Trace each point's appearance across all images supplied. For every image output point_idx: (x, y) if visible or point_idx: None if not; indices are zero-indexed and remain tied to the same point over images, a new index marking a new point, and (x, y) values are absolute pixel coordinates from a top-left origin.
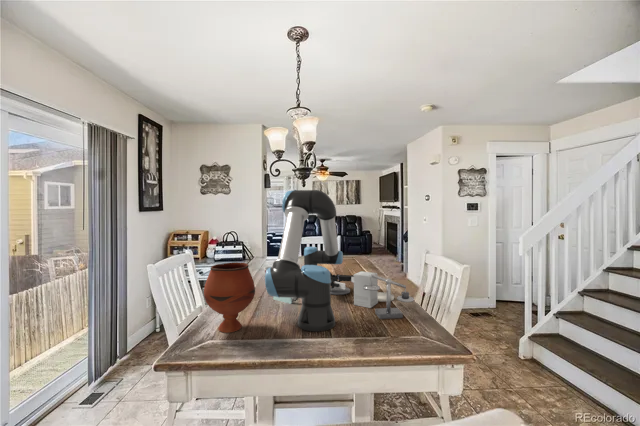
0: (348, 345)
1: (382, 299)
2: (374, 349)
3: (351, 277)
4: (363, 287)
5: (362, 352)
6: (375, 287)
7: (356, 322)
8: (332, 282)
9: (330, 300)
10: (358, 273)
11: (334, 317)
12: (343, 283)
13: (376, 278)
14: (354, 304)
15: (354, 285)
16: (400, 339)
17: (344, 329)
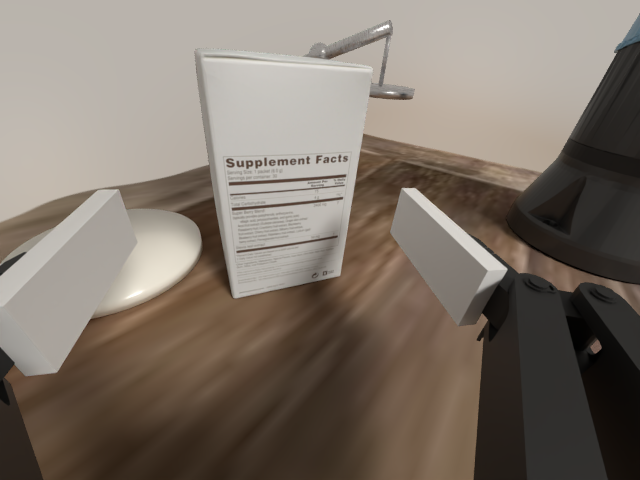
0: (493, 173)
1: (186, 221)
2: (450, 158)
3: (12, 312)
4: (409, 95)
5: (474, 161)
6: (374, 84)
7: (432, 200)
8: (540, 282)
9: (569, 137)
10: (315, 60)
11: (520, 194)
12: (418, 195)
13: (369, 43)
14: (340, 270)
15: (356, 161)
16: (386, 153)
17: (483, 196)
